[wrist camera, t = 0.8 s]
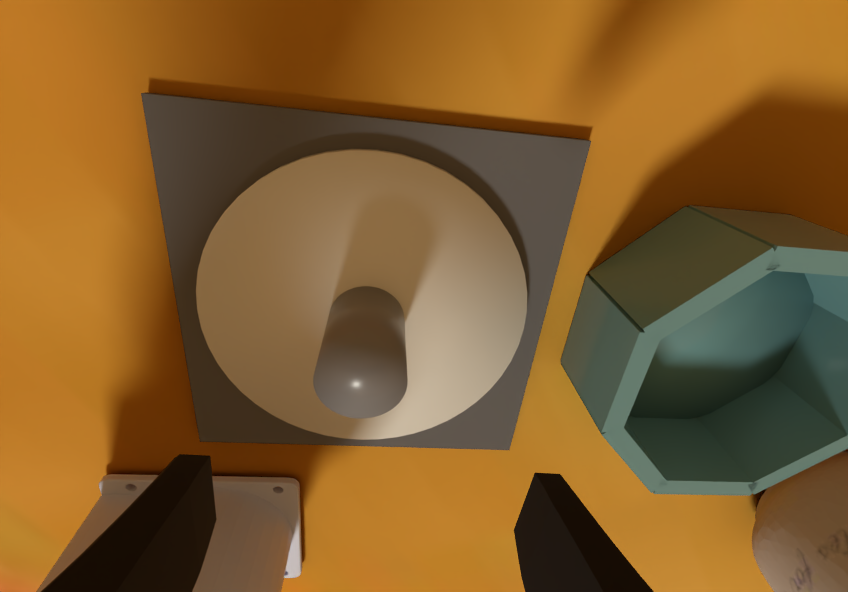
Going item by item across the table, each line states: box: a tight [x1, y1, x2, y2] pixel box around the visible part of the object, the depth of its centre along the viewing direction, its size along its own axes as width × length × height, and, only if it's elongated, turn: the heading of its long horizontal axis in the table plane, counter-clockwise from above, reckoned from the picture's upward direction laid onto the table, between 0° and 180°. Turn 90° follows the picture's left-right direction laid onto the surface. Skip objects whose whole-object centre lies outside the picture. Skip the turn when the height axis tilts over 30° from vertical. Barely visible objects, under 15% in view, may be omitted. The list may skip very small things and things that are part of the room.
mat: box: [141, 93, 591, 450], centre depth 18 cm, size 15×15×1 cm
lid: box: [196, 149, 527, 440], centre depth 16 cm, size 13×13×5 cm
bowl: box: [561, 205, 848, 495], centre depth 18 cm, size 11×11×4 cm
